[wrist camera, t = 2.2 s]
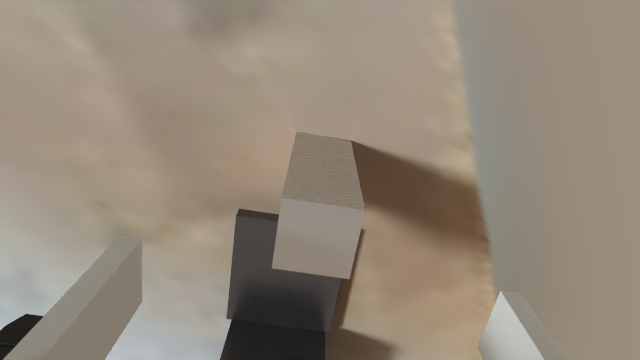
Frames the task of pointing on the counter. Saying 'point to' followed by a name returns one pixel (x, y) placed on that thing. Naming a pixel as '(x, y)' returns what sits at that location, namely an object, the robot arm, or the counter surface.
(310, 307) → the square socket bracket
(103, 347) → the robot arm
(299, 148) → the beige rectangular block
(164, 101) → the counter surface
